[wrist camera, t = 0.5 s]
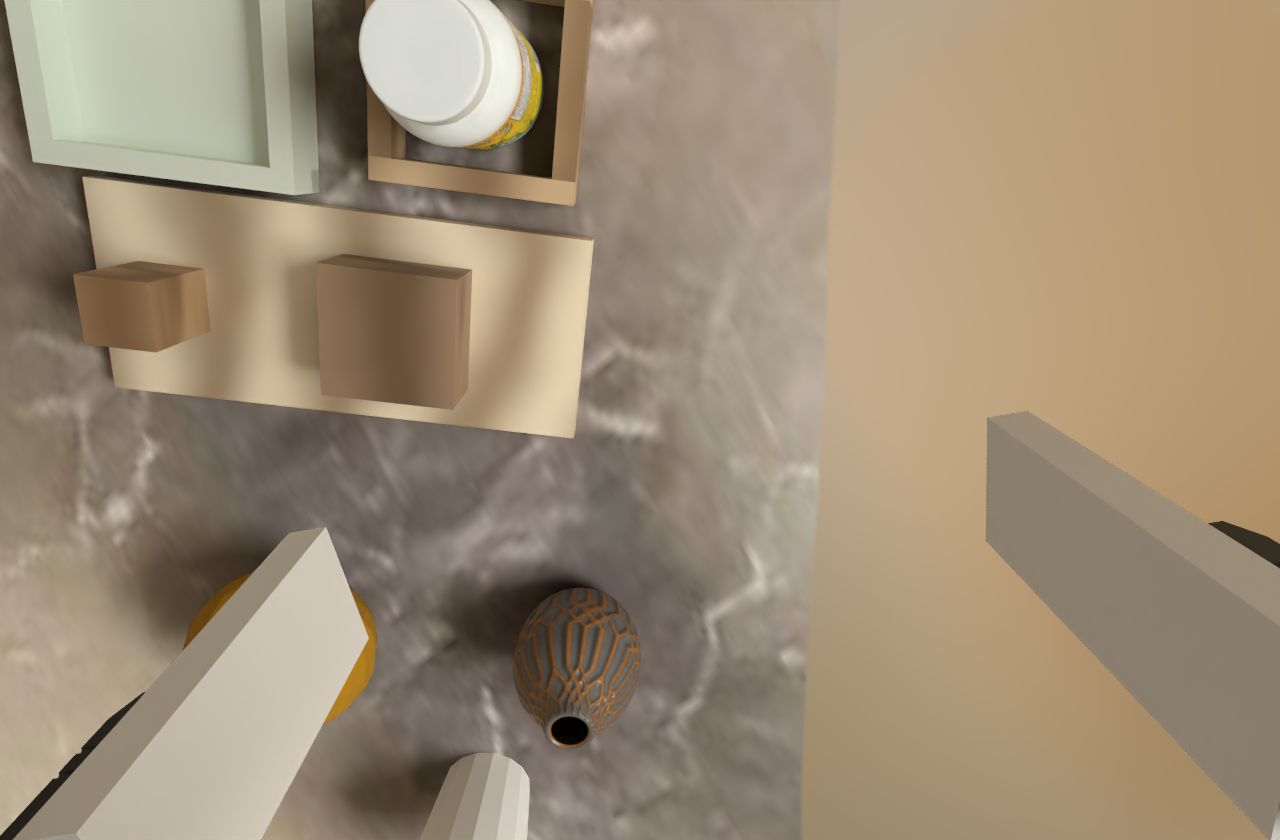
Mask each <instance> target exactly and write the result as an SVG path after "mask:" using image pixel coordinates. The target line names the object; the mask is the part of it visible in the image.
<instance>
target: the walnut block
mask: <svg viewBox="0 0 1280 840" xmlns="http://www.w3.org/2000/svg"><path fill="white" fill-rule="evenodd" d="M315 267H316V290H317V313H318V336H319V359H320V382H321V395H325V396H334V397H342V398H351V399H360V400H369V401H378V402H387V403H396V404H405V405H414V406H422V407H431V408H440V409H449V410H453V409H454V408H455V407H456V405H457V404H458V402H459V401H460V400H461V398H462V397H463V396H464V394H465V393H466V392H467V390H468V373H469V346H470V319H471V291H472V270H471V269H463V268H455V267H447V266H438V265H430V264H422V263H414V262H406V261H398V260H390V259H382V258H373V257H365V256H357V255H349V254H341V255H338V256H335V257H332V258H329V259H325V260H322V261H319V262H316V263H315Z"/></svg>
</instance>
